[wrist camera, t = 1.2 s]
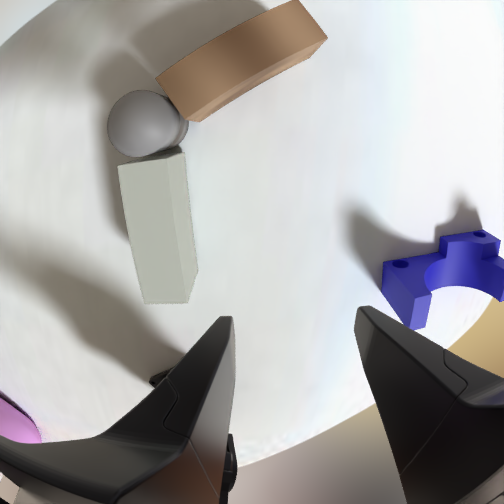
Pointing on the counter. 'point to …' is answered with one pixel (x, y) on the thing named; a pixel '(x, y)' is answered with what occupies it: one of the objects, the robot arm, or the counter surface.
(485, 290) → the cable clip
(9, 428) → the teapot
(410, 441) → the robot arm
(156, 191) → the hinge leaf
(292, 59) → the hinge base
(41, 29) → the counter surface
